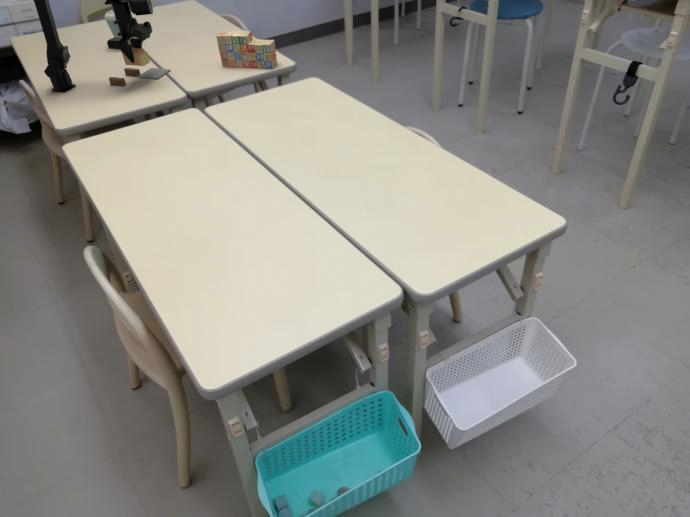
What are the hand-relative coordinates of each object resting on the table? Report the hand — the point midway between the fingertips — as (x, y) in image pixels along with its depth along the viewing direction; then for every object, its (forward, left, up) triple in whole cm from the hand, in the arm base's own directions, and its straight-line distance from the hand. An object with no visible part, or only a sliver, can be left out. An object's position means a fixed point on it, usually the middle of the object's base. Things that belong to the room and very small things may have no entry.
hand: (136, 60), depth 199 cm
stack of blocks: (+24, -34, -8) cm, 42 cm away
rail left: (-5, +8, -8) cm, 12 cm away
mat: (+7, 0, -8) cm, 11 cm away
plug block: (0, 0, -1) cm, 1 cm away
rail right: (+5, +8, -8) cm, 12 cm away
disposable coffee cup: (+33, +32, -8) cm, 47 cm away
